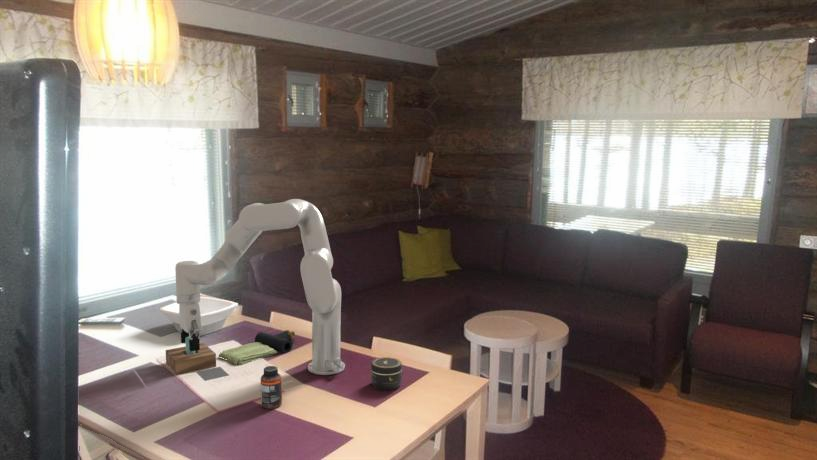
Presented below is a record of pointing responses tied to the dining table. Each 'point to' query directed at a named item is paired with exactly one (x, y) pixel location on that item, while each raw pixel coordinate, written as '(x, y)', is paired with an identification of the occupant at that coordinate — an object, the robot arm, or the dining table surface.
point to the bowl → (204, 314)
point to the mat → (212, 373)
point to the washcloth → (247, 353)
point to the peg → (188, 346)
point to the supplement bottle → (271, 388)
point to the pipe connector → (277, 340)
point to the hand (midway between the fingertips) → (190, 346)
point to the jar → (386, 373)
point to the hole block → (190, 359)
